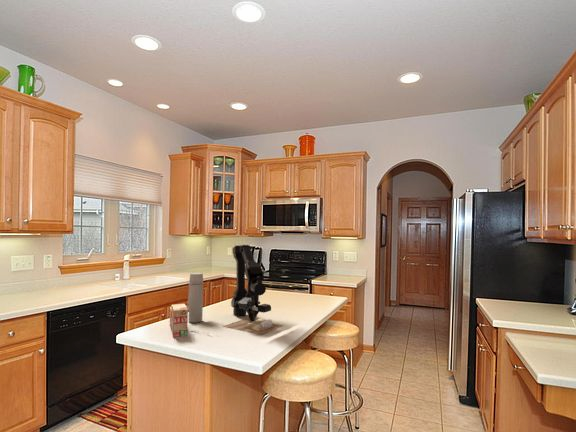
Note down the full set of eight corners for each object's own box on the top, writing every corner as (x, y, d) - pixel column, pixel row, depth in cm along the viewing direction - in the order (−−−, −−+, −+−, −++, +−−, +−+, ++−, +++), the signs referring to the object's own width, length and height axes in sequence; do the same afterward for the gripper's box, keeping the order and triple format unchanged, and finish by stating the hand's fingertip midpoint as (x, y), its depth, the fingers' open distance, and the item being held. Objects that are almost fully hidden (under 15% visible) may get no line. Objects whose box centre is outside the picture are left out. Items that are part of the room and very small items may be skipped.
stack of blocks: (169, 325, 171) (169, 300, 172) (182, 324, 174) (182, 299, 174) (172, 337, 152) (173, 309, 152) (187, 336, 154) (188, 308, 155)
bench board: (222, 329, 164) (222, 326, 164) (246, 321, 179) (246, 318, 179) (261, 338, 151) (261, 334, 151) (283, 328, 166) (283, 325, 166)
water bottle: (205, 320, 181) (206, 273, 182) (196, 323, 174) (197, 274, 175) (192, 318, 185) (193, 272, 186) (182, 321, 178) (183, 273, 179)
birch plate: (247, 328, 161) (247, 323, 161) (259, 323, 170) (259, 318, 170) (258, 331, 157) (258, 325, 157) (271, 326, 166) (271, 320, 166)
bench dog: (260, 330, 159) (260, 322, 159) (269, 326, 164) (269, 319, 165) (263, 330, 158) (263, 323, 158) (272, 327, 164) (272, 319, 164)
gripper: (227, 291, 165) (226, 323, 164) (258, 296, 155) (256, 331, 154) (242, 288, 174) (241, 319, 173) (272, 293, 164) (271, 325, 163)
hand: (252, 323), depth 166 cm, fingers closed
